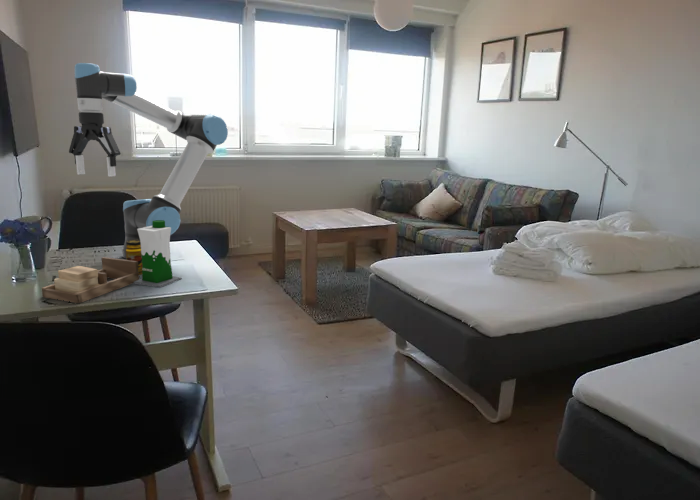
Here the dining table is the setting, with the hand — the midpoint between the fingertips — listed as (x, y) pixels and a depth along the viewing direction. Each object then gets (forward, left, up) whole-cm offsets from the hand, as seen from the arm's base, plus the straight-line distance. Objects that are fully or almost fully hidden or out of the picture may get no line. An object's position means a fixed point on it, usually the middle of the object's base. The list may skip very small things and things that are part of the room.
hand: (96, 175), depth 177 cm
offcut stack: (+23, +12, -35) cm, 43 cm away
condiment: (-3, +11, -35) cm, 37 cm away
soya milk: (+2, +25, -34) cm, 42 cm away
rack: (+17, +12, -35) cm, 40 cm away
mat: (+2, +25, -35) cm, 43 cm away
